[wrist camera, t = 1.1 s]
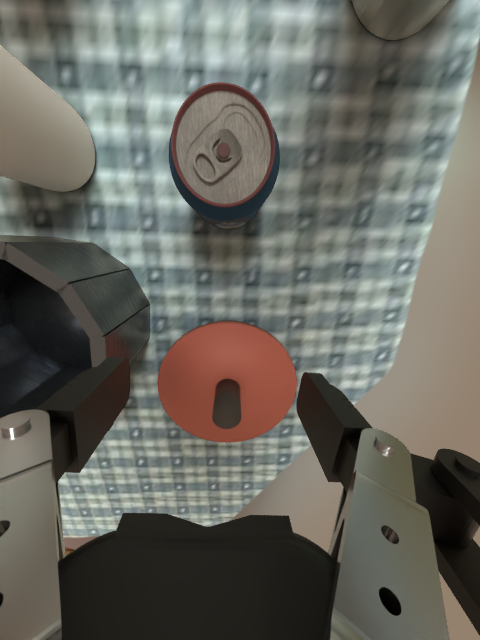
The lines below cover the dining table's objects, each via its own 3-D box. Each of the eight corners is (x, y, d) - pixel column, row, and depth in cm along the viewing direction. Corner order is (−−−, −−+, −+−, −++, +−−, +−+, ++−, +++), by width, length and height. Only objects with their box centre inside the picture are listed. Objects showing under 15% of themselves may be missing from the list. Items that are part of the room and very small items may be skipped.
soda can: (234, 139, 22) (235, 28, 11) (273, 202, 24) (309, 164, 13) (181, 187, 23) (131, 132, 12) (222, 243, 25) (214, 242, 14)
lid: (266, 296, 27) (277, 314, 21) (308, 406, 33) (327, 449, 26) (138, 348, 29) (109, 380, 22) (197, 444, 35) (189, 493, 28)
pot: (82, 183, 23) (-25, 141, 13) (184, 365, 30) (161, 421, 20) (-50, 249, 25) (-228, 252, 15) (76, 406, 32) (9, 476, 22)
